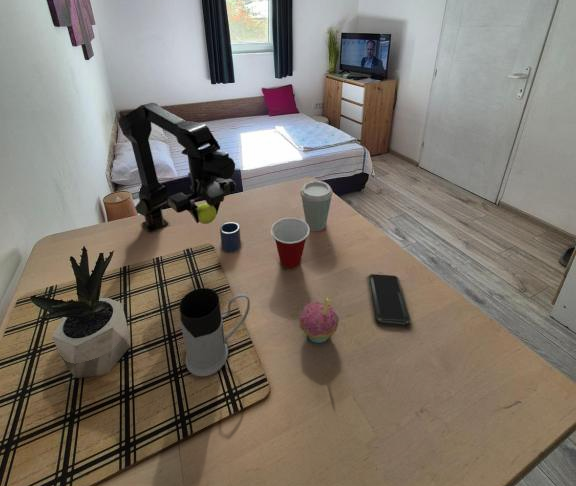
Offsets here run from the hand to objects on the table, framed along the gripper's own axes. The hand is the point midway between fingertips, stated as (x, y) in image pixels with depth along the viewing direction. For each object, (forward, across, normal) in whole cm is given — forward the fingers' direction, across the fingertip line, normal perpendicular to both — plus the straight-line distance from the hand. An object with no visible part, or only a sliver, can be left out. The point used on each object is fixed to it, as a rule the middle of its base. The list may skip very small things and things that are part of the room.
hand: (206, 218), depth 95 cm
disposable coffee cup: (+12, +33, -14) cm, 37 cm away
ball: (-2, 0, 0) cm, 2 cm away
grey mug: (+12, -16, -30) cm, 36 cm away
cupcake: (+12, +2, -42) cm, 44 cm away
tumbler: (+11, +6, -3) cm, 13 cm away
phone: (+12, +22, -48) cm, 54 cm away
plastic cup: (+12, +14, -21) cm, 28 cm away
